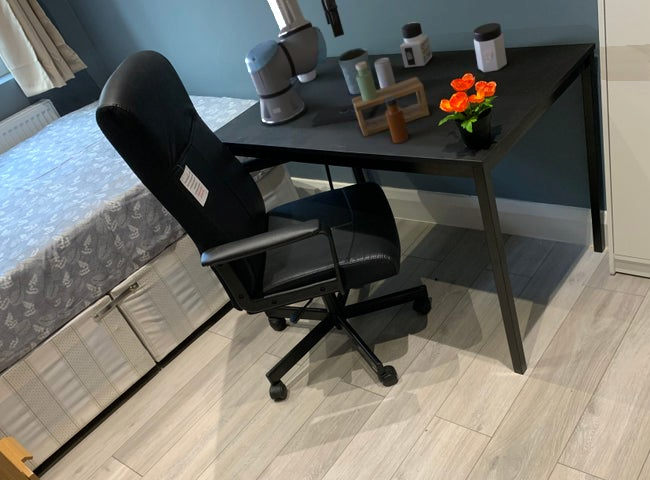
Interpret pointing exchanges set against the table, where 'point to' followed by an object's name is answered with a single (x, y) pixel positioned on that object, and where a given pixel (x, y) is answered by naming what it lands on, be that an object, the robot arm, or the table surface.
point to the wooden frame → (382, 94)
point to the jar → (489, 47)
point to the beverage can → (384, 72)
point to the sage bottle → (365, 82)
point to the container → (415, 46)
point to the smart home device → (340, 114)
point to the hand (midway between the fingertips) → (335, 29)
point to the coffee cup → (307, 76)
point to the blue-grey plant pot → (353, 66)
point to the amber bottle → (396, 120)
